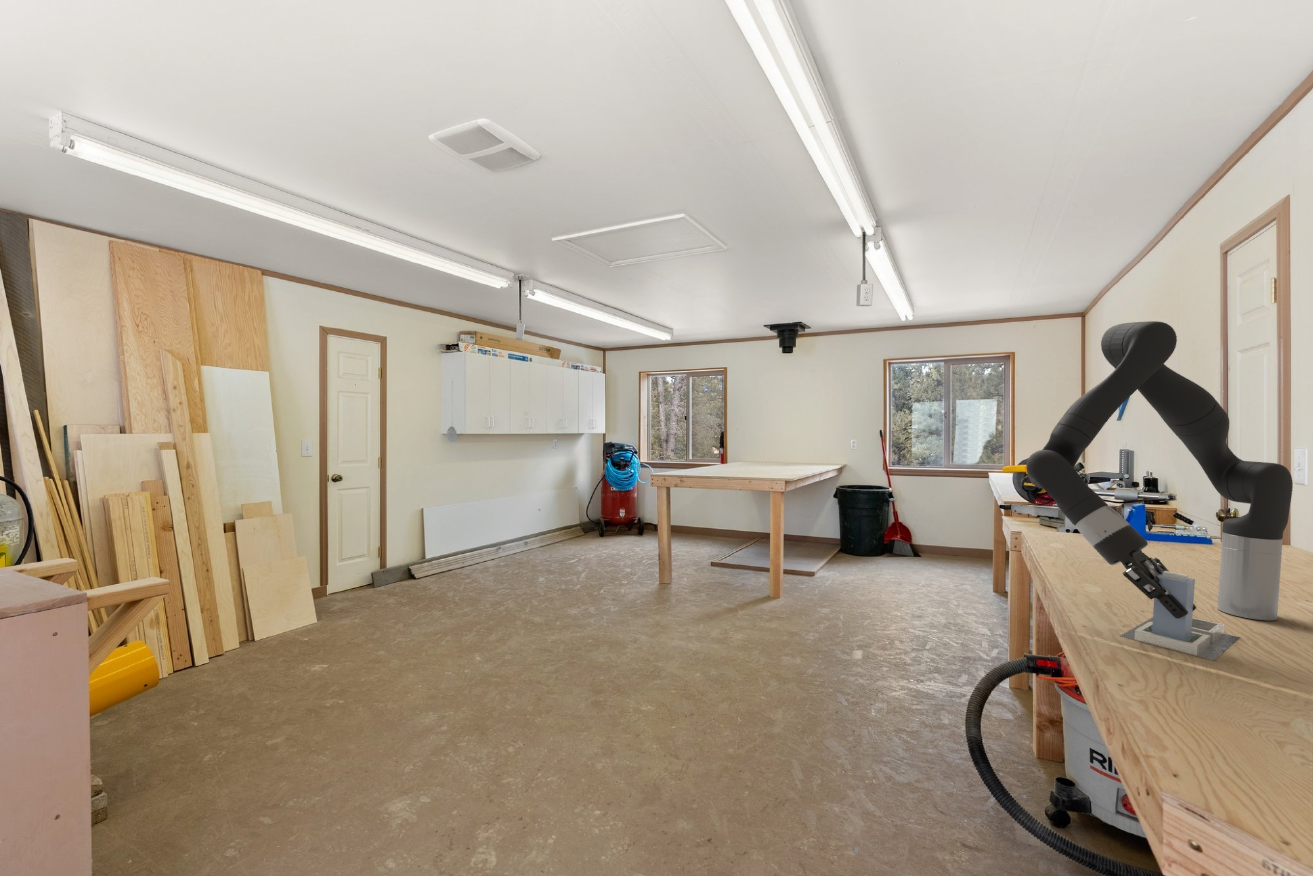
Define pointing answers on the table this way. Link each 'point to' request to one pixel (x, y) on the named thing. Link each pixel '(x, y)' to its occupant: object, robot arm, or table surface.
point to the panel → (1202, 644)
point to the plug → (1184, 594)
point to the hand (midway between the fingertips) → (1187, 613)
